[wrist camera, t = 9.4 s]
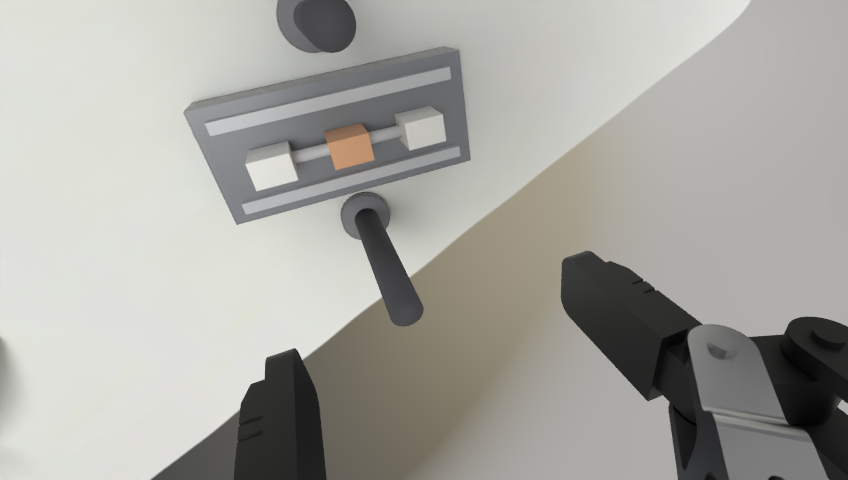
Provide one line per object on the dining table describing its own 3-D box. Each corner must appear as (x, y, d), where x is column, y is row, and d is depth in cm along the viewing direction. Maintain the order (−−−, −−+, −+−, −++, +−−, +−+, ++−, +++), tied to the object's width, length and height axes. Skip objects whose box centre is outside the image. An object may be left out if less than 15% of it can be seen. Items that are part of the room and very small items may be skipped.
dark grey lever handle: (342, 191, 33) (377, 285, 22) (389, 193, 34) (445, 282, 23) (339, 234, 35) (369, 342, 24) (384, 234, 36) (433, 336, 25)
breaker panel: (444, 46, 30) (462, 50, 27) (456, 149, 34) (473, 162, 31) (192, 102, 27) (180, 114, 24) (240, 207, 31) (236, 228, 28)
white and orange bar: (429, 105, 29) (442, 114, 26) (433, 130, 29) (446, 140, 27) (248, 150, 26) (245, 164, 24) (258, 175, 27) (256, 191, 25)
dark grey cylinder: (277, -25, 25) (274, -53, 14) (341, -11, 26) (387, -25, 15) (276, 45, 27) (273, 71, 16) (337, 55, 28) (375, 86, 17)
